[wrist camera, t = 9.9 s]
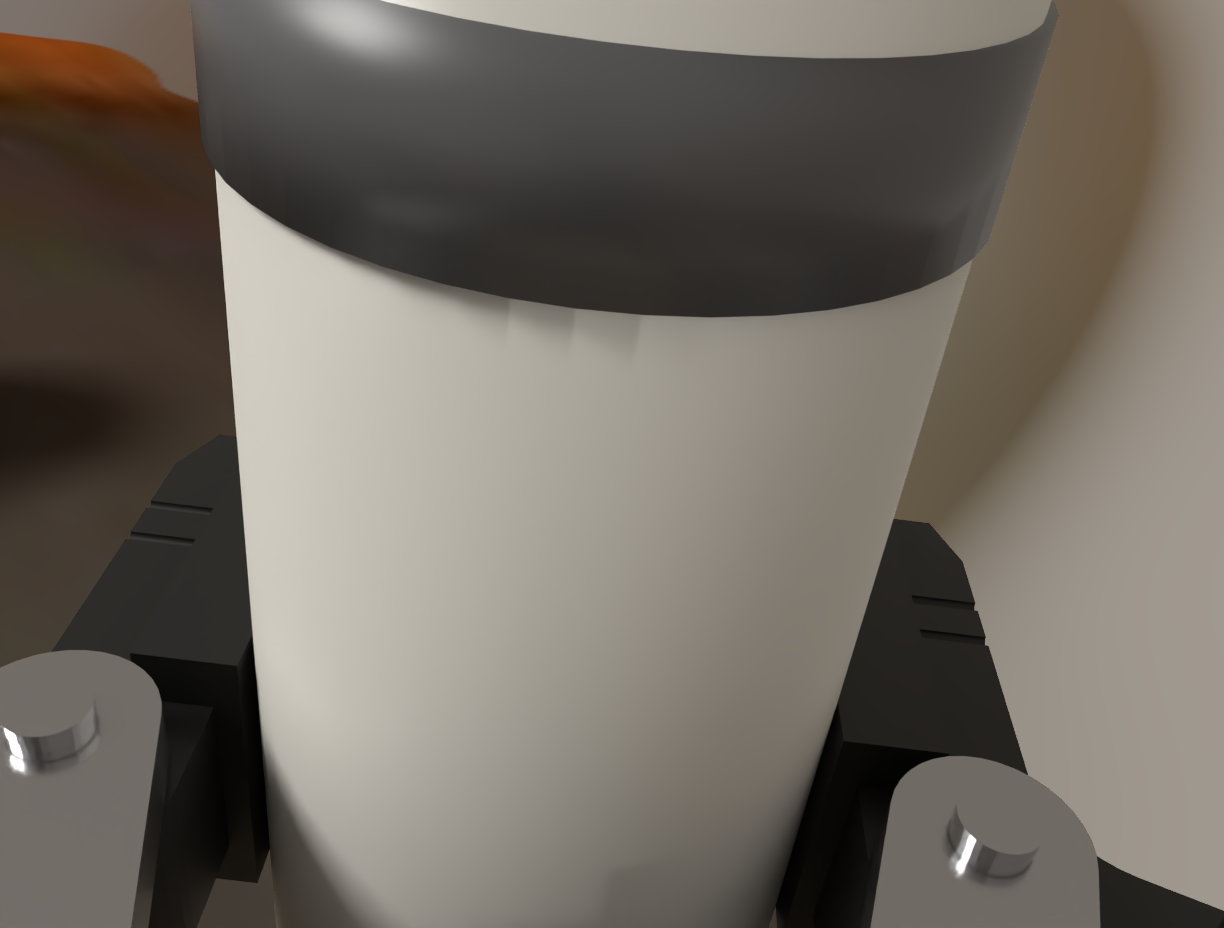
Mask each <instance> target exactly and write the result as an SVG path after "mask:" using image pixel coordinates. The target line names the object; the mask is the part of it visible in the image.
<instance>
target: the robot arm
mask: <svg viewBox="0 0 1224 928" xmlns="http://www.w3.org/2000/svg"><path fill="white" fill-rule="evenodd" d="M974 605H975V601H974V598H973V594H972V591H971V588H970V585H969V581H968V578H967V575H966V572H965V568H964V565H963V562H962V561H961V559H960V558H959V557H958V556H957V555H956V554H955V553H954V551H953V550H952V549H951V548H950V547H949V546H948V545H947V543H946V542H945V541H944V540H943V539H942V538H941V537H940V535H939V534H938V533H937V532H936V531H935V530H934V529H933V527H932V526H931V525H930V524H929V523H922V522H913V521H905V520H898V519H893V522H892V525H891V528H890V532H889V535H888V538H887V542H886V545H885V548H884V551H883V555H882V558H881V561H880V564H879V568H878V571H877V574H876V578H875V581H874V584H873V587H872V591H871V594H870V597H869V601H868V604H867V607H866V610H865V614H864V617H863V620H862V624H861V627H860V630H859V633H858V637H857V640H856V643H855V647H854V650H853V653H852V656H851V660H850V663H849V666H848V669H847V673H846V676H845V679H844V683H843V686H842V689H841V692H840V696H839V699H838V702H837V706H836V709H835V712H834V715H833V719H832V722H831V725H830V729H829V732H828V735H827V738H826V742H825V745H824V748H823V752H822V755H821V758H820V761H819V765H818V768H817V771H816V774H815V778H814V781H813V784H812V788H811V791H810V794H809V797H808V801H807V804H806V807H805V811H804V814H803V817H802V820H801V824H800V827H799V830H798V834H797V837H796V840H795V843H794V847H793V850H792V853H791V857H790V860H789V863H788V866H787V870H786V873H785V876H784V879H783V883H782V886H781V889H780V893H779V896H778V899H777V902H776V918H777V928H1224V911H1223V910H1220V909H1217V908H1215V907H1212V906H1210V905H1207V904H1205V903H1202V902H1199V901H1197V900H1194V899H1192V898H1189V897H1186V896H1184V895H1181V894H1179V893H1176V892H1173V891H1171V890H1168V889H1165V888H1163V887H1161V886H1158V885H1156V884H1153V883H1150V882H1148V881H1145V880H1143V879H1140V878H1137V877H1135V876H1133V875H1131V874H1129V873H1126V872H1124V871H1122V870H1120V869H1118V868H1116V867H1115V866H1113V865H1111V864H1109V863H1107V862H1106V861H1104V860H1102V859H1100V858H1099V857H1097V855H1096V852H1095V849H1094V846H1093V843H1092V840H1091V838H1090V836H1089V834H1088V833H1087V831H1086V829H1085V827H1084V826H1083V824H1082V823H1081V821H1080V820H1079V819H1078V817H1077V816H1076V815H1075V813H1074V812H1073V811H1072V810H1071V809H1070V808H1069V807H1068V806H1067V805H1066V804H1065V802H1064V801H1063V800H1062V799H1060V798H1059V797H1058V796H1057V795H1056V794H1055V793H1053V792H1052V791H1051V790H1050V789H1048V788H1047V787H1046V786H1044V785H1043V784H1041V783H1040V782H1038V781H1037V780H1035V779H1033V778H1032V777H1030V776H1028V773H1027V770H1026V767H1025V764H1024V760H1023V757H1022V754H1021V751H1020V747H1019V744H1018V741H1017V738H1016V734H1015V731H1014V728H1013V724H1012V721H1011V718H1010V715H1009V712H1008V708H1007V705H1006V702H1005V698H1004V695H1003V692H1002V689H1001V686H1000V682H999V679H998V676H997V672H996V669H995V666H994V663H993V659H992V656H991V653H990V650H989V647H988V646H985V638H986V637H985V634H984V630H983V627H982V624H981V620H980V617H979V614H978V611H974ZM269 849H270V843H269V830H268V818H267V805H266V793H265V781H264V768H263V756H262V743H261V731H260V719H259V706H258V694H257V681H256V669H255V657H254V644H253V632H252V619H251V607H250V595H249V582H248V570H247V557H246V545H245V533H244V520H243V508H242V495H241V483H240V471H239V458H238V446H237V437H234V436H226V435H218V436H217V437H215V438H214V439H212V440H211V441H209V442H208V443H206V444H205V445H203V446H202V447H200V448H199V449H197V450H196V451H194V452H193V453H191V454H190V455H188V456H187V457H185V458H184V459H182V460H180V461H179V462H177V463H176V464H175V465H174V467H173V468H172V470H171V471H170V473H169V474H168V476H167V478H166V479H165V481H164V482H163V484H162V485H161V487H160V488H159V490H158V491H157V493H156V494H155V496H154V497H153V499H152V500H151V507H150V508H146V509H145V511H144V512H143V514H142V515H141V517H140V518H139V520H138V521H137V523H136V525H135V526H134V528H133V529H132V531H131V537H130V540H127V539H126V540H125V541H124V543H123V544H122V546H121V547H120V549H119V550H118V552H117V553H116V555H115V556H114V558H113V559H112V561H111V562H110V564H109V565H108V567H107V568H106V570H105V572H104V573H103V575H102V576H101V578H100V579H99V581H98V582H97V584H96V585H95V587H94V588H93V590H92V591H91V593H90V594H89V596H88V597H87V599H86V600H85V602H84V603H83V605H82V606H81V608H80V609H79V611H78V612H77V614H76V615H75V617H74V619H73V620H72V622H71V623H70V625H69V626H68V628H67V629H66V631H65V632H64V634H63V635H62V637H61V638H60V640H59V641H58V643H57V644H56V646H55V647H54V649H53V650H52V652H49V653H44V654H39V655H35V656H31V657H28V658H24V659H21V660H18V661H15V662H12V663H10V664H8V665H6V666H4V667H1V668H0V928H196V927H197V925H198V922H199V920H200V917H201V915H202V912H203V910H204V907H205V905H206V902H207V900H208V897H209V895H210V892H211V890H212V887H213V885H214V882H215V879H216V878H219V879H228V880H236V881H245V882H253V883H258V880H259V877H260V874H261V871H262V869H263V866H264V863H265V860H266V858H267V855H268V852H269Z"/></svg>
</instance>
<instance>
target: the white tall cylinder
mask: <svg viewBox="0 0 1224 928" xmlns="http://www.w3.org/2000/svg"><path fill="white" fill-rule="evenodd" d="M190 9H191V21H192V32H193V43H194V55H195V67H196V78H197V89H198V102H199V114H200V125H201V137H202V143H203V146H204V148H205V151H206V154H207V156H208V159H209V162H210V163H211V164H212V166H213V167H214V168H215V173H216V186H217V198H218V210H219V223H220V235H221V248H222V260H223V272H224V285H225V297H226V310H227V322H228V334H229V347H230V359H231V371H232V384H233V396H234V409H235V421H236V433H237V446H238V458H239V471H240V483H241V495H242V508H243V520H244V533H245V545H246V557H247V570H248V582H249V595H250V607H251V619H252V632H253V644H254V657H255V669H256V681H257V694H258V706H259V719H260V731H261V743H262V756H263V768H264V781H265V793H266V805H267V818H268V830H269V843H270V855H271V867H272V880H273V892H274V905H275V917H276V928H769V925H770V922H771V919H772V916H773V912H774V909H775V906H776V902H777V899H778V896H779V893H780V889H781V886H782V883H783V879H784V876H785V873H786V870H787V866H788V863H789V860H790V857H791V853H792V850H793V847H794V843H795V840H796V837H797V834H798V830H799V827H800V824H801V820H802V817H803V814H804V811H805V807H806V804H807V801H808V797H809V794H810V791H811V788H812V784H813V781H814V778H815V774H816V771H817V768H818V765H819V761H820V758H821V755H822V752H823V748H824V745H825V742H826V738H827V735H828V732H829V729H830V725H831V722H832V719H833V715H834V712H835V709H836V706H837V702H838V699H839V696H840V692H841V689H842V686H843V683H844V679H845V676H846V673H847V669H848V666H849V663H850V660H851V656H852V653H853V650H854V647H855V643H856V640H857V637H858V633H859V630H860V627H861V624H862V620H863V617H864V614H865V610H866V607H867V604H868V601H869V597H870V594H871V591H872V587H873V584H874V581H875V578H876V574H877V571H878V568H879V564H880V561H881V558H882V555H883V551H884V548H885V545H886V542H887V538H888V535H889V532H890V528H891V525H892V522H893V518H894V515H895V512H896V508H897V505H898V502H899V499H900V496H901V492H902V489H903V486H904V482H905V479H906V476H907V473H908V469H909V466H910V463H911V459H912V456H913V453H914V450H915V446H916V443H917V440H918V436H919V433H920V430H921V426H922V423H923V420H924V417H925V414H926V410H927V407H928V404H929V400H930V397H931V394H932V391H933V387H934V384H935V381H936V377H937V374H938V371H939V368H940V364H941V361H942V357H943V354H944V351H945V348H946V345H947V341H948V338H949V335H950V331H951V328H952V325H953V322H954V318H955V315H956V312H957V309H958V305H959V302H960V298H961V295H962V292H963V289H964V285H965V282H966V279H967V276H968V272H969V269H970V266H971V262H972V259H974V257H975V256H976V255H977V254H978V253H979V251H980V250H981V249H982V248H983V247H984V245H985V244H986V243H987V242H988V239H989V237H990V234H991V231H992V228H993V225H994V222H995V219H996V216H997V213H998V210H999V206H1000V203H1001V200H1002V197H1003V194H1004V190H1005V187H1006V184H1007V180H1008V177H1009V174H1010V171H1011V167H1012V164H1013V161H1014V158H1015V155H1016V152H1017V148H1018V145H1019V142H1020V138H1021V135H1022V132H1023V129H1024V126H1025V122H1026V119H1027V116H1028V113H1029V110H1030V106H1031V103H1032V100H1033V97H1034V93H1035V90H1036V87H1037V84H1038V81H1039V77H1040V74H1041V71H1042V68H1043V64H1044V61H1045V58H1046V55H1047V52H1048V48H1049V45H1050V42H1051V39H1052V36H1053V32H1054V29H1055V26H1056V23H1057V19H1058V16H1059V15H1058V12H1057V9H1056V5H1055V3H1054V2H1053V1H1052V0H190Z"/></svg>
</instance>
